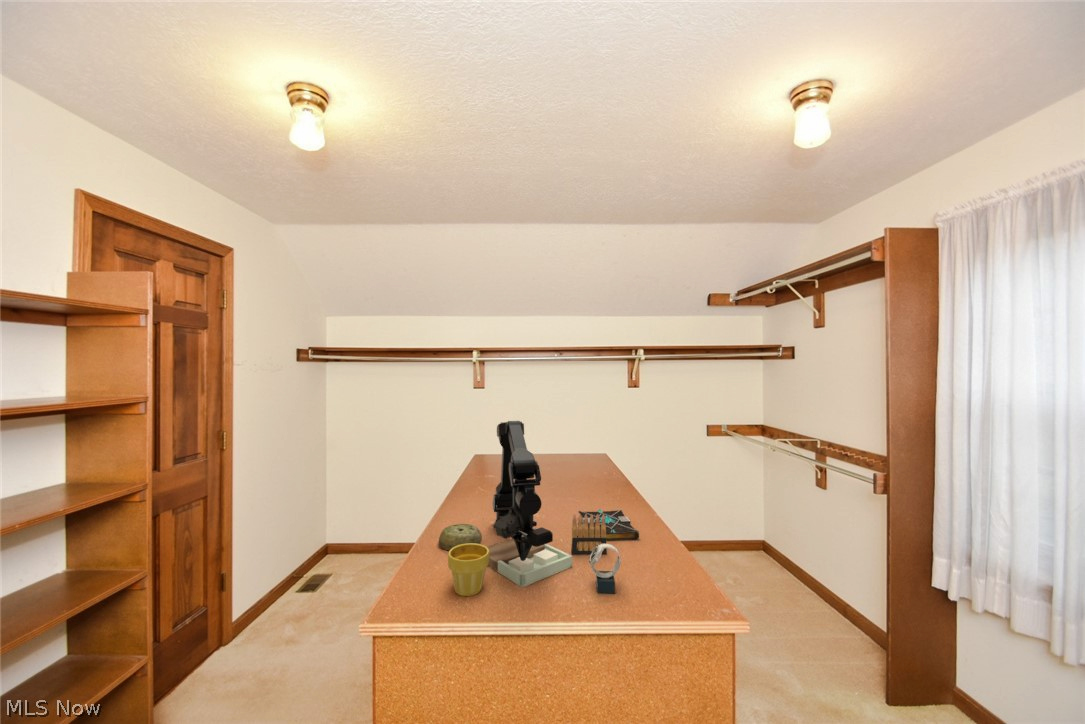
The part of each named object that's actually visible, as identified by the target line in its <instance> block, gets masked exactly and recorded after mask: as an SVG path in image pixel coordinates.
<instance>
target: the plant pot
mask: <svg viewBox="0 0 1085 724" xmlns="http://www.w3.org/2000/svg"><path fill="white" fill-rule="evenodd" d="M487 547H488V546H485V545H484V544H481V543H480V544H476V543H468V544H461V545H458V546H455V547H453V548H452V549H451V550H450V551H449V550H448V553H447V564H448V568H449V570H450V571H451V576H452V582H453V586H454V592H455V593H456V594H457V595H459V596H461V597H462V596H463V597H471V596H475V595H477V594H478V593H480V592H481V591H482V588H483V587H482V586H483V582H484V578H485V573H486V568H487V567H489V566H488V564H489V549H488V548H487Z"/></svg>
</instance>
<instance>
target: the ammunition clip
mask: <svg viewBox="0 0 1085 724" xmlns="http://www.w3.org/2000/svg"><path fill="white" fill-rule="evenodd" d="M578 517H579V519H577V515H576V514H575V513H574V514H573V516H572V527H571V551H570V553H571V554H570V555H571V556H591V553H592V551H593V549H594V548H595V547H596V546H597V545H600V544H604V543H605V544H607V540H606V524H605V516H604V514H603V515H602V521H601V536H600V521H599V515H598V514H597V516H596V524H595V536H594V520H593V515H592V514H591V516H590V526H589V528H588V518H587V514H585V518H584V528H583V524H582V516H581V514H580V513H579V515H578ZM577 522H578V523H577ZM607 555H608V548H604V550H603V551H602V555H601V556H607Z"/></svg>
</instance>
